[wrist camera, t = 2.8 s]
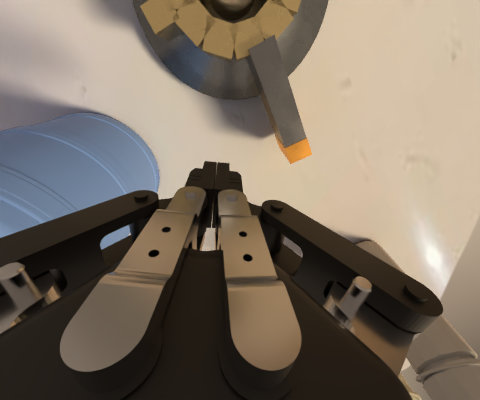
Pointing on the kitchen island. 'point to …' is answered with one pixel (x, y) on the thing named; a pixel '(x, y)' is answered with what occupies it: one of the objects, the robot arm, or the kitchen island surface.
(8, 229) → the water jug
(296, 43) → the housing
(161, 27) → the segmented ring on plate
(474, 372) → the water bottle
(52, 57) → the kitchen island surface
